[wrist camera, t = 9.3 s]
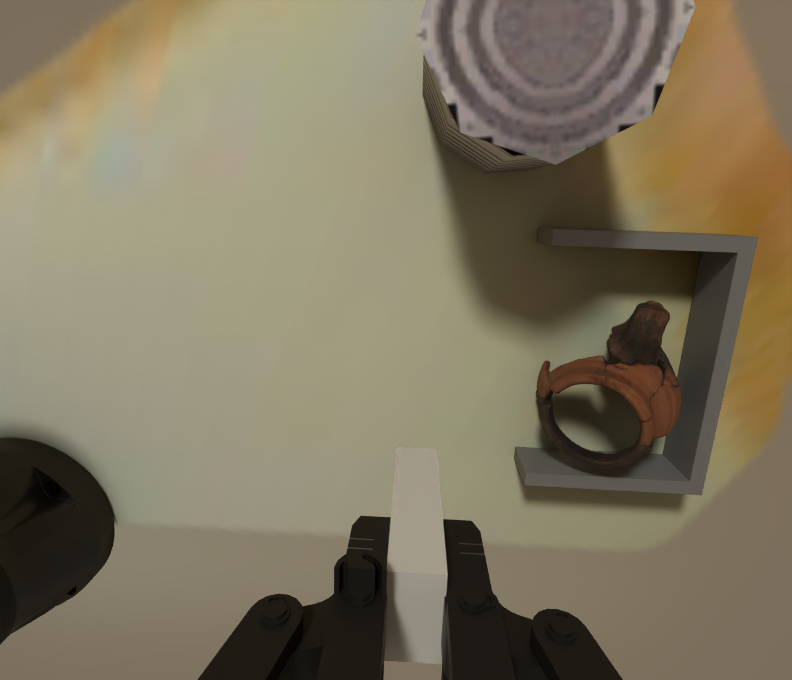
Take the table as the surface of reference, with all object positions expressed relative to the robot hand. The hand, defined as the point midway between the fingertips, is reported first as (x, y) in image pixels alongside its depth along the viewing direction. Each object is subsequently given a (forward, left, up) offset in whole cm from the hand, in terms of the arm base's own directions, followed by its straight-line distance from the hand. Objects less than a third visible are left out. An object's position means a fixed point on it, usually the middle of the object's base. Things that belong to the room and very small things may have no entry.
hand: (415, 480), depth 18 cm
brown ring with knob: (+14, -1, -20) cm, 24 cm away
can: (+5, +18, -20) cm, 27 cm away
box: (+14, 0, -19) cm, 24 cm away
